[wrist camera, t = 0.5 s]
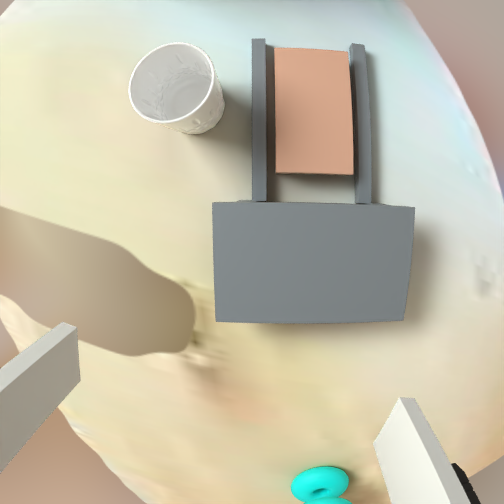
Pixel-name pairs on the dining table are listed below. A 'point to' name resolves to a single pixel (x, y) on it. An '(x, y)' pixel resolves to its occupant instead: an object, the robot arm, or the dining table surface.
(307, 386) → the dining table surface
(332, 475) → the donuts
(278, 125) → the salmon pink tile
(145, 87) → the white cup
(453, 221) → the dining table surface
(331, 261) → the overhang dock
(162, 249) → the dining table surface
